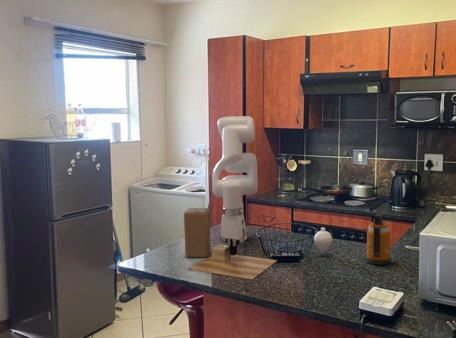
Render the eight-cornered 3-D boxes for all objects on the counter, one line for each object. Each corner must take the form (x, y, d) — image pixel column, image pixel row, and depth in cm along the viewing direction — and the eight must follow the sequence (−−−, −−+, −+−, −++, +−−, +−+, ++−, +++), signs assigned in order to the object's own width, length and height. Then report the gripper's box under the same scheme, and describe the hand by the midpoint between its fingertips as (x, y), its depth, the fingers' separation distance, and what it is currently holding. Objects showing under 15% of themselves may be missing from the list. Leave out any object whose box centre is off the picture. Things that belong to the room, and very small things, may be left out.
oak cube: (218, 255, 194) (218, 244, 194) (230, 257, 192) (230, 246, 191) (211, 259, 189) (211, 248, 189) (224, 261, 186) (224, 249, 186)
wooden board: (219, 252, 200) (219, 252, 200) (277, 260, 186) (277, 260, 186) (188, 269, 179) (188, 268, 178) (251, 279, 165) (251, 279, 165)
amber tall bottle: (390, 260, 184) (391, 212, 182) (387, 268, 174) (388, 218, 172) (368, 257, 188) (369, 210, 185) (364, 266, 178) (364, 216, 175)
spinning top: (312, 257, 190) (312, 229, 189) (316, 251, 197) (316, 225, 196) (330, 258, 188) (330, 230, 186) (333, 253, 195) (333, 226, 193)
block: (211, 251, 202) (210, 207, 200) (207, 258, 192) (206, 212, 190) (189, 250, 203) (188, 207, 201) (184, 257, 193) (183, 212, 191)
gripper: (252, 211, 187) (253, 254, 189) (221, 208, 194) (222, 250, 196) (244, 215, 180) (245, 259, 182) (212, 212, 187) (213, 254, 189)
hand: (233, 254), depth 189 cm, fingers closed
